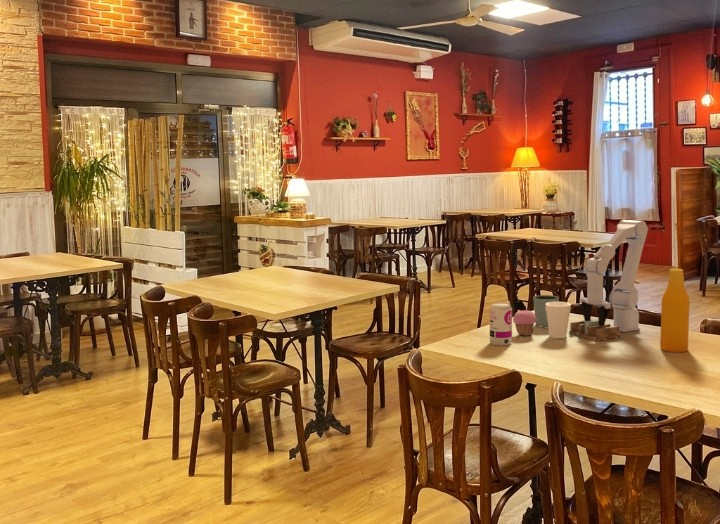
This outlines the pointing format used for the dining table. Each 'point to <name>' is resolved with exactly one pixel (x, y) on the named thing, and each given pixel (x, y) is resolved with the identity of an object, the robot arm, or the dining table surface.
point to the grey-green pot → (542, 308)
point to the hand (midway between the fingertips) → (594, 323)
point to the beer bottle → (675, 314)
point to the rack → (594, 331)
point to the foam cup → (558, 318)
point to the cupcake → (524, 322)
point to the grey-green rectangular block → (591, 324)
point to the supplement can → (500, 324)
